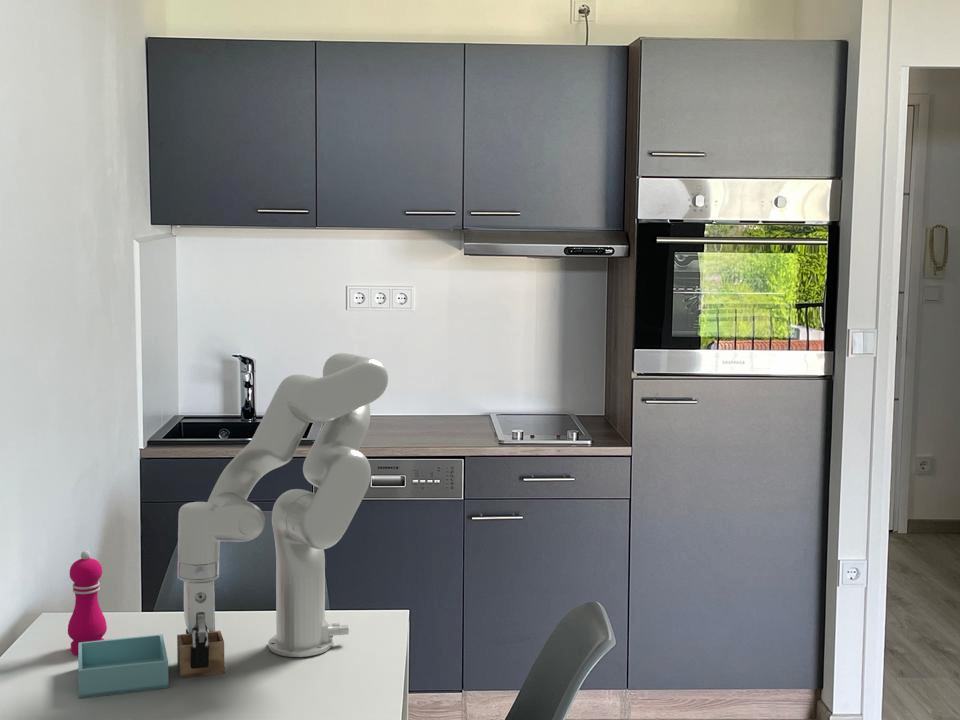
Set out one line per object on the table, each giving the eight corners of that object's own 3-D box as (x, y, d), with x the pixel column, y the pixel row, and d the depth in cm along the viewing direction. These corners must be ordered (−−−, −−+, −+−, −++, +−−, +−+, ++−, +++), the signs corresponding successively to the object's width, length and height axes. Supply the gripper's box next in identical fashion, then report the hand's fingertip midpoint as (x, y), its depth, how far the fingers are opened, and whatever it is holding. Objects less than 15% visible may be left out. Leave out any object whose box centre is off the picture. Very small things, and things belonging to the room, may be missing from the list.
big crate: (163, 659, 214) (162, 634, 214) (168, 687, 201) (168, 661, 200) (79, 668, 209) (78, 642, 209) (79, 698, 196) (78, 671, 195)
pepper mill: (94, 658, 214) (92, 557, 212) (60, 655, 215) (57, 554, 213) (114, 645, 221) (112, 547, 219) (81, 642, 222) (78, 544, 220)
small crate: (220, 660, 214) (220, 630, 213) (224, 673, 208) (224, 642, 208) (177, 665, 212) (177, 634, 211) (180, 678, 206) (179, 646, 205)
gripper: (224, 581, 201) (222, 673, 202) (213, 555, 217) (212, 640, 219) (181, 584, 198) (180, 677, 200) (173, 557, 214) (172, 643, 216)
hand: (196, 658), depth 209 cm, fingers open, 9 cm apart
